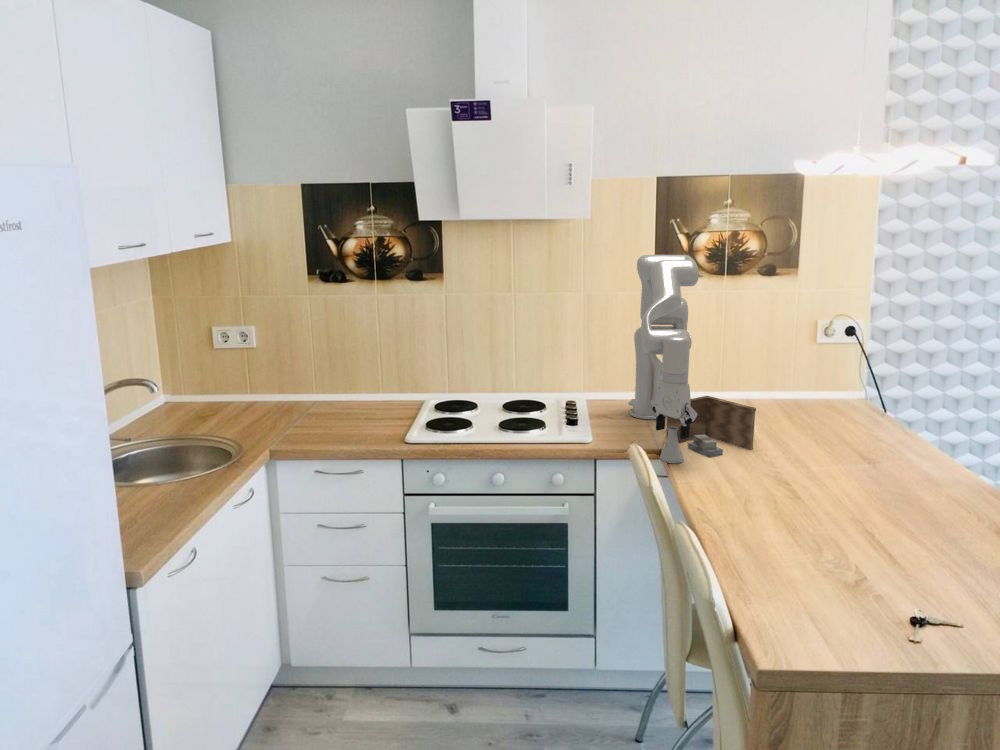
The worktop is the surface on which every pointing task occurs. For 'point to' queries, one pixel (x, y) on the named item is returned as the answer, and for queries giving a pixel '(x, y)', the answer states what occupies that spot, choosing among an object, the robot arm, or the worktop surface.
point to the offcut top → (705, 442)
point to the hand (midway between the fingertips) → (672, 433)
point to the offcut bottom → (707, 453)
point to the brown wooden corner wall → (720, 421)
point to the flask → (671, 448)
